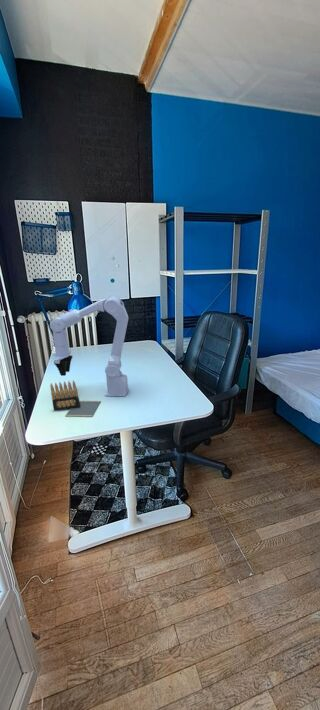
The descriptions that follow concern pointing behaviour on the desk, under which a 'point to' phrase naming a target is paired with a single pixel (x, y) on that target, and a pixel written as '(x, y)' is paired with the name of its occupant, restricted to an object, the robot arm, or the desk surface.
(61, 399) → the ammunition clip
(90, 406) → the mat
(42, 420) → the desk surface
